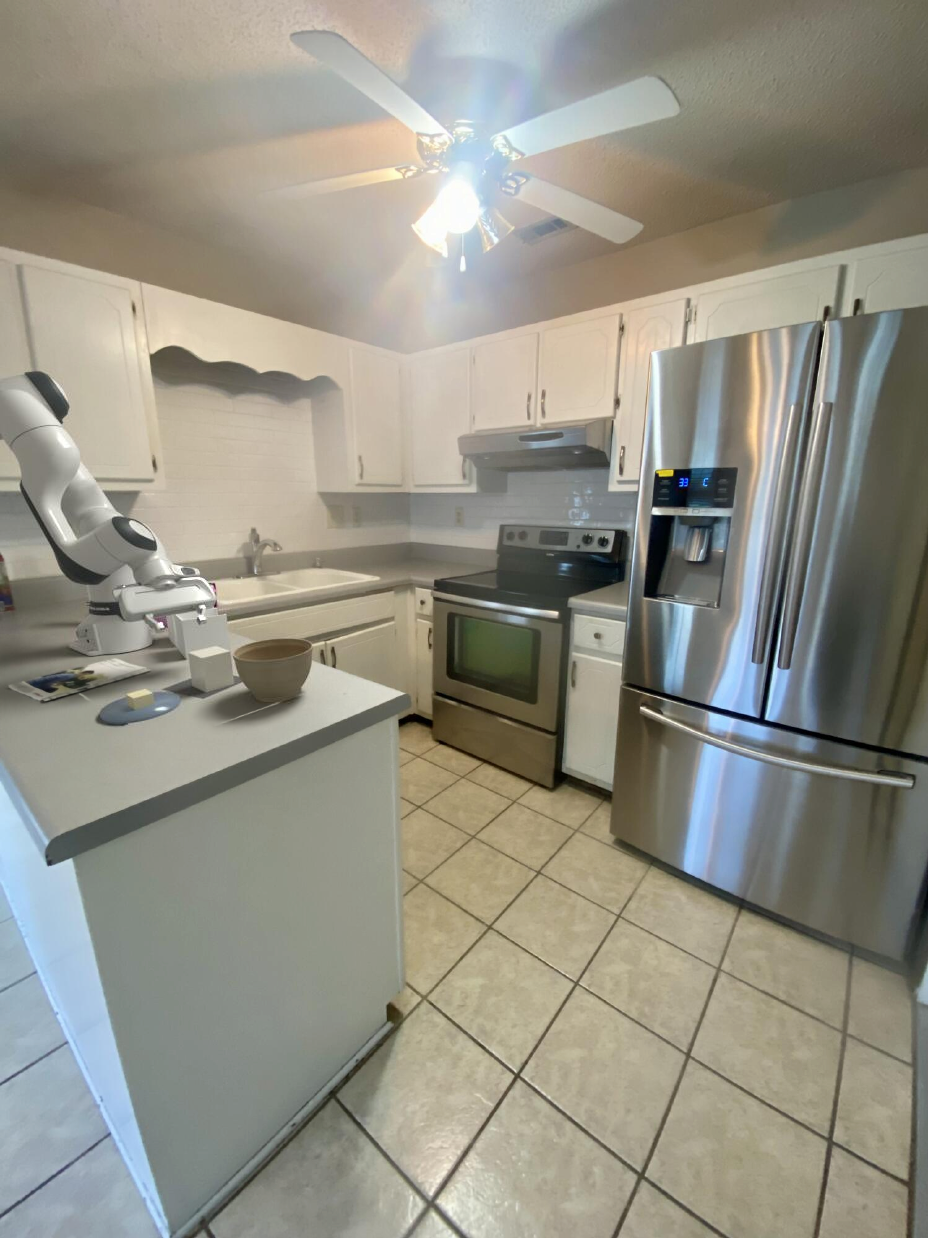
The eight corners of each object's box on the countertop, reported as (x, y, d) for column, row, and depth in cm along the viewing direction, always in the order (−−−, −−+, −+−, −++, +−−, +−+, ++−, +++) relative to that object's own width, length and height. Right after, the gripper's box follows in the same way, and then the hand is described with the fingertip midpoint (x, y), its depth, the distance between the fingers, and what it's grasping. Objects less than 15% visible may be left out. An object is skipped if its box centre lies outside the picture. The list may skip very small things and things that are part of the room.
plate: (84, 717, 101) (83, 712, 100) (150, 692, 113) (150, 688, 113) (131, 730, 95) (130, 725, 95) (196, 702, 108) (195, 698, 107)
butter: (127, 705, 104) (125, 694, 103) (147, 700, 106) (145, 688, 106) (135, 710, 101) (133, 698, 101) (154, 704, 104) (152, 693, 104)
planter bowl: (266, 679, 121) (262, 635, 118) (328, 685, 118) (325, 640, 115) (221, 706, 106) (215, 656, 103) (290, 714, 102) (286, 662, 100)
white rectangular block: (192, 686, 116) (188, 652, 114) (219, 678, 121) (216, 645, 119) (206, 692, 112) (202, 658, 110) (234, 684, 117) (230, 651, 115)
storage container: (169, 639, 154) (164, 604, 151) (208, 633, 161) (204, 599, 158) (187, 660, 135) (181, 620, 132) (230, 652, 142) (226, 614, 139)
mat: (161, 691, 114) (161, 689, 114) (210, 672, 125) (210, 671, 125) (203, 700, 109) (203, 698, 109) (250, 680, 120) (250, 678, 120)
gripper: (111, 578, 112) (135, 628, 108) (204, 567, 128) (228, 611, 124) (107, 595, 116) (130, 644, 112) (198, 583, 131) (221, 626, 128)
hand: (182, 627), depth 118 cm, fingers open, 8 cm apart
